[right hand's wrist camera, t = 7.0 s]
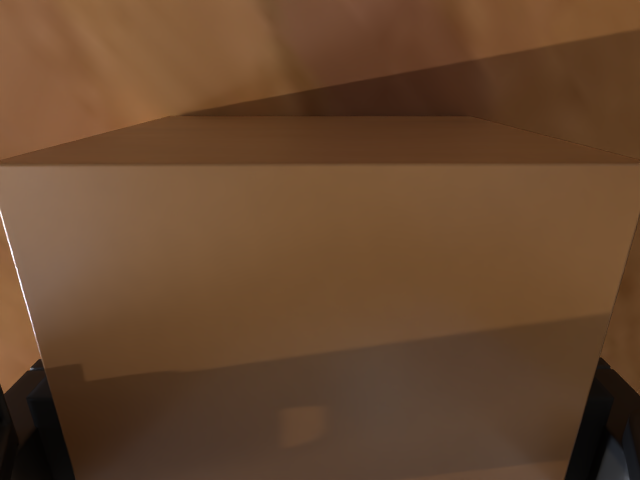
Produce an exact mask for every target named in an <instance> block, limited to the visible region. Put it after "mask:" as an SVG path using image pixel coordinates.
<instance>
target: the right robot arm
mask: <svg viewBox="0 0 640 480" xmlns="http://www.w3.org/2000/svg"><path fill="white" fill-rule="evenodd" d="M0 480H76V479H75V476H74V472H73V468H72V465H71V461H70V458H69V454H68V451H67V447H66V444H65V440H64V437H63V433H62V430H61V426H60V423H59V419H58V416H57V412H56V409H55V405H54V402H53V398H52V395H51V391H50V388H49V384H48V380H47V377H46V373H45V370H44V366H43V363H42V359H39V360H38V361H37V362H36V363H35V364H34V365H33V366H32V367H31V368H30V371H27V372H26V373H25V374H24V375H23V376H22V377H21V378H20V379H19V380H18V381H17V382H16V383H15V384H14V385H13V386H12V387H11V388H10V389H9V390H8V391H7V392H6V393H5V394H3V391H2V388H1V385H0ZM565 480H640V395H639V394H638V393H637V392H635V391H634V390H633V389H632V388H631V387H630V386H629V385H628V384H627V383H626V382H625V381H624V380H623V379H622V378H621V377H620V376H619V375H618V374H617V373H616V372H615V371H614V370H613V369H610V366H609V365H608V364H607V363H606V362H605V361H604V360H603V359H602V358H599V361H598V364H597V368H596V371H595V375H594V378H593V382H592V385H591V389H590V392H589V396H588V399H587V403H586V406H585V410H584V413H583V417H582V421H581V424H580V428H579V431H578V435H577V438H576V442H575V445H574V449H573V452H572V456H571V459H570V463H569V466H568V470H567V473H566V477H565Z"/></svg>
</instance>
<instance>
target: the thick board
mask: <svg viewBox="0 0 640 480" xmlns="http://www.w3.org/2000/svg"><path fill="white" fill-rule="evenodd" d="M0 215H1V219H2V222H3V226H4V229H5V233H6V236H7V240H8V243H9V247H10V250H11V254H12V257H13V261H14V264H15V268H16V271H17V275H18V278H19V282H20V285H21V289H22V292H23V296H24V300H25V303H26V307H27V310H28V314H29V317H30V321H31V324H32V328H33V331H34V335H35V338H36V342H37V345H38V349H39V352H40V356H41V359H42V363H43V366H44V370H45V373H46V377H47V380H48V384H49V388H50V391H51V395H52V398H53V402H54V405H55V409H56V412H57V416H58V419H59V423H60V426H61V430H62V433H63V437H64V440H65V444H66V447H67V451H68V454H69V458H70V461H71V465H72V468H73V472H74V476H75V479H76V480H565V477H566V473H567V470H568V466H569V463H570V459H571V456H572V452H573V449H574V445H575V442H576V438H577V435H578V431H579V428H580V424H581V421H582V417H583V413H584V410H585V406H586V403H587V399H588V396H589V392H590V389H591V385H592V382H593V378H594V375H595V371H596V368H597V364H598V361H599V357H600V354H601V350H602V347H603V343H604V340H605V336H606V333H607V329H608V326H609V322H610V319H611V315H612V312H613V308H614V305H615V301H616V298H617V294H618V291H619V287H620V284H621V280H622V276H623V273H624V269H625V266H626V262H627V259H628V255H629V252H630V248H631V245H632V241H633V238H634V234H635V231H636V227H637V224H638V220H639V217H640V160H638V159H634V158H630V157H626V156H623V155H619V154H615V153H611V152H607V151H603V150H599V149H596V148H592V147H588V146H584V145H580V144H576V143H572V142H569V141H565V140H561V139H557V138H553V137H549V136H545V135H542V134H538V133H534V132H530V131H526V130H522V129H518V128H515V127H511V126H507V125H503V124H499V123H495V122H491V121H488V120H484V119H480V118H476V117H472V116H168V117H164V118H160V119H156V120H152V121H149V122H145V123H141V124H137V125H133V126H129V127H126V128H122V129H118V130H114V131H110V132H106V133H103V134H99V135H95V136H91V137H87V138H83V139H80V140H76V141H72V142H68V143H64V144H60V145H57V146H53V147H49V148H45V149H41V150H37V151H34V152H30V153H26V154H22V155H18V156H14V157H11V158H7V159H3V160H0Z"/></svg>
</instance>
